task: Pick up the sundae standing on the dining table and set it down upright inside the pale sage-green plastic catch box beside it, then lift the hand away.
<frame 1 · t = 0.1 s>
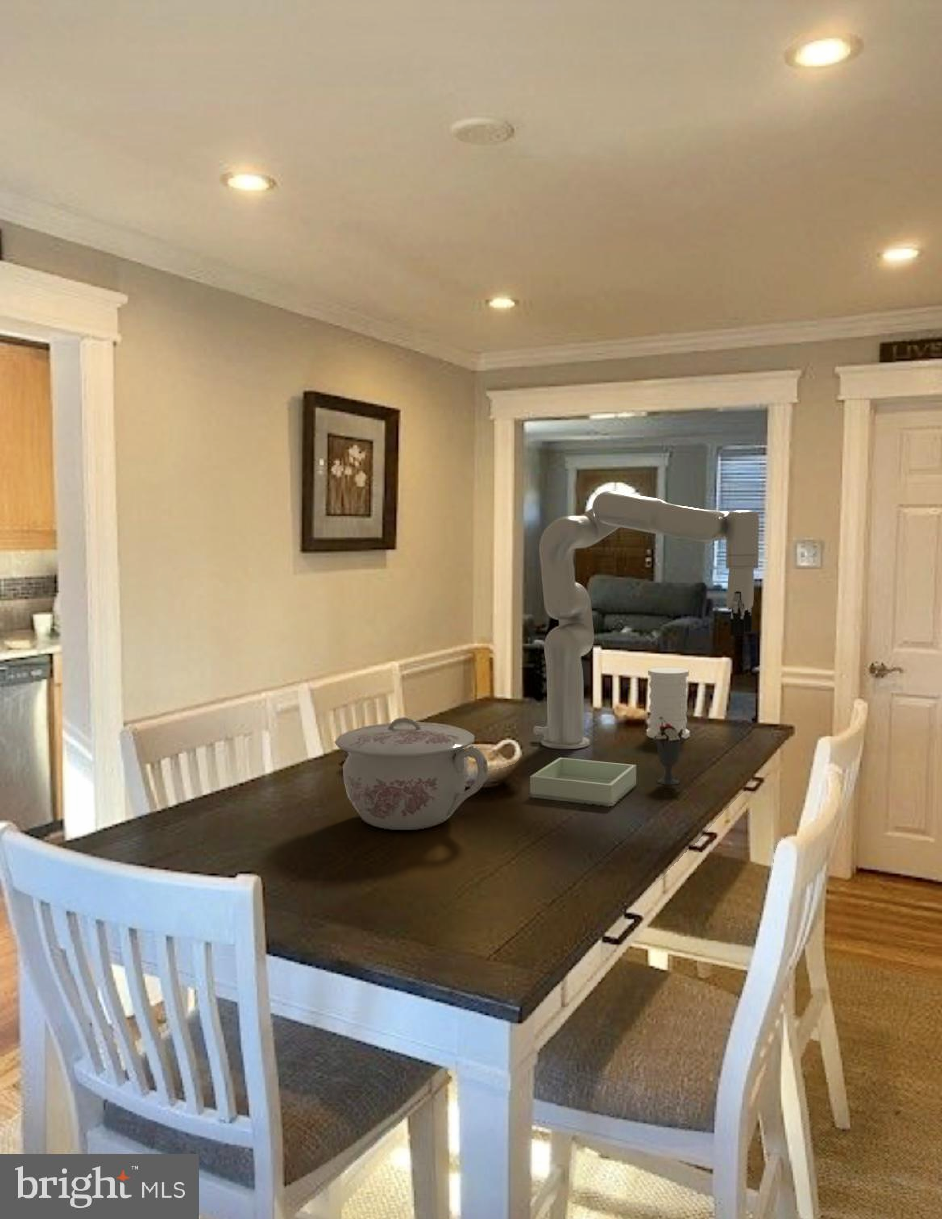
hand: (741, 633, 231), 31 cm above the table, tool pointing down, fingers open, 9 cm apart
casserole: (393, 764, 236), on the table
decorative container: (667, 736, 263), on the table
sundae: (668, 783, 216), on the table
catch box: (584, 791, 210), on the table
chamber pot: (407, 822, 190), on the table
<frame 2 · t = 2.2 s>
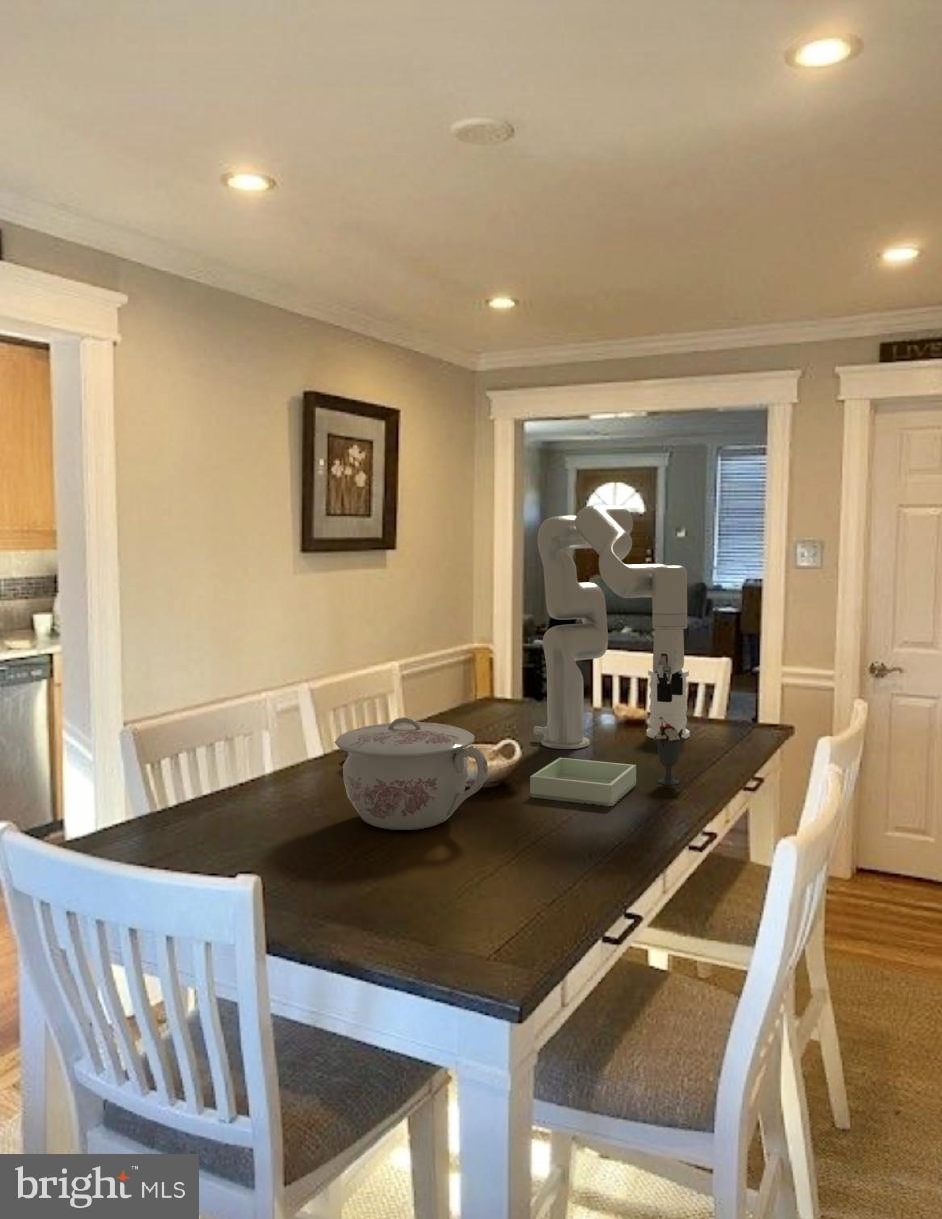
hand: (670, 698, 214), 19 cm above the table, tool pointing down, fingers open, 9 cm apart
nothing on the table moved.
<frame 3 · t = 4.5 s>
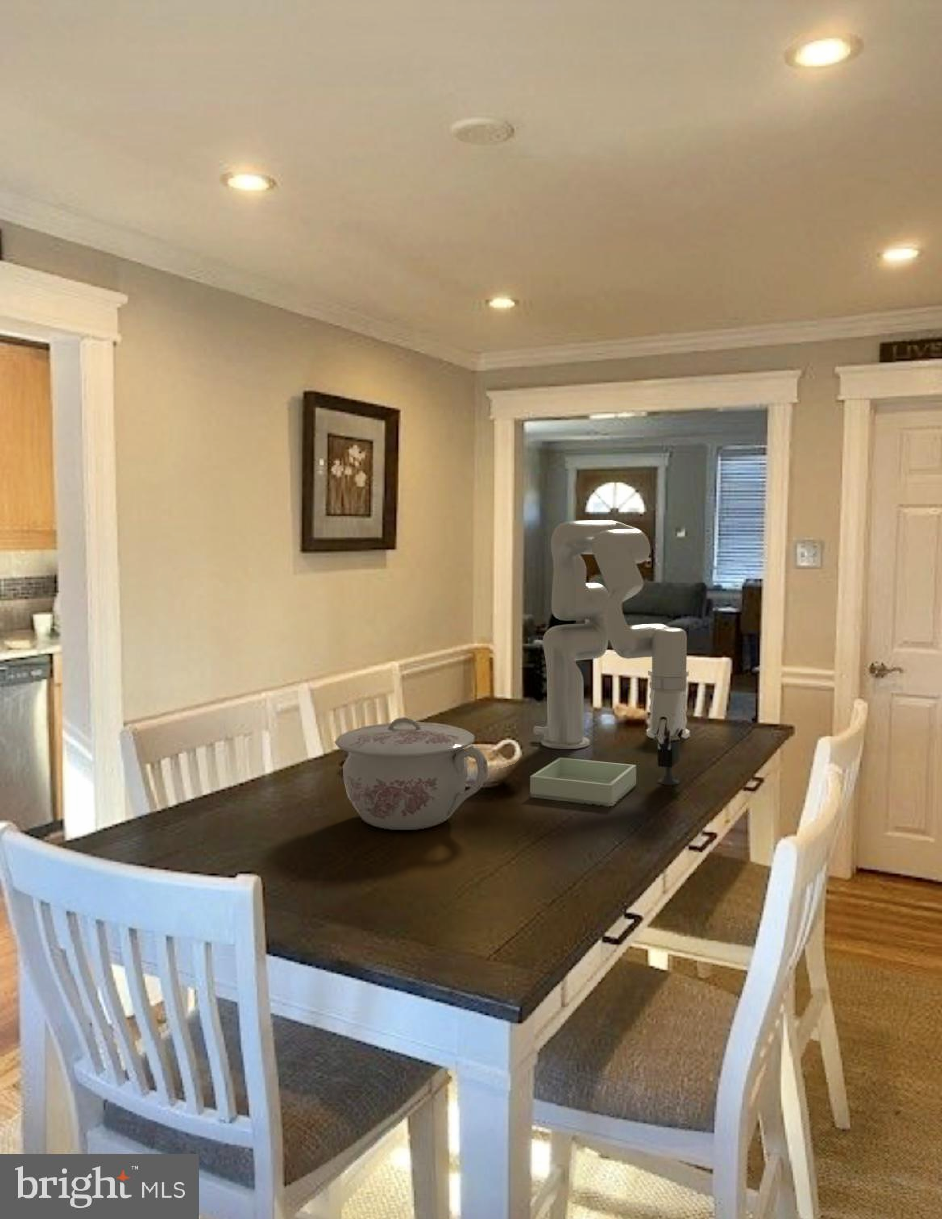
hand: (668, 763, 215), 4 cm above the table, tool pointing down, fingers closed on sundae, 5 cm apart
sundae: (668, 783, 216), on the table, touching gripper
everything else where it was.
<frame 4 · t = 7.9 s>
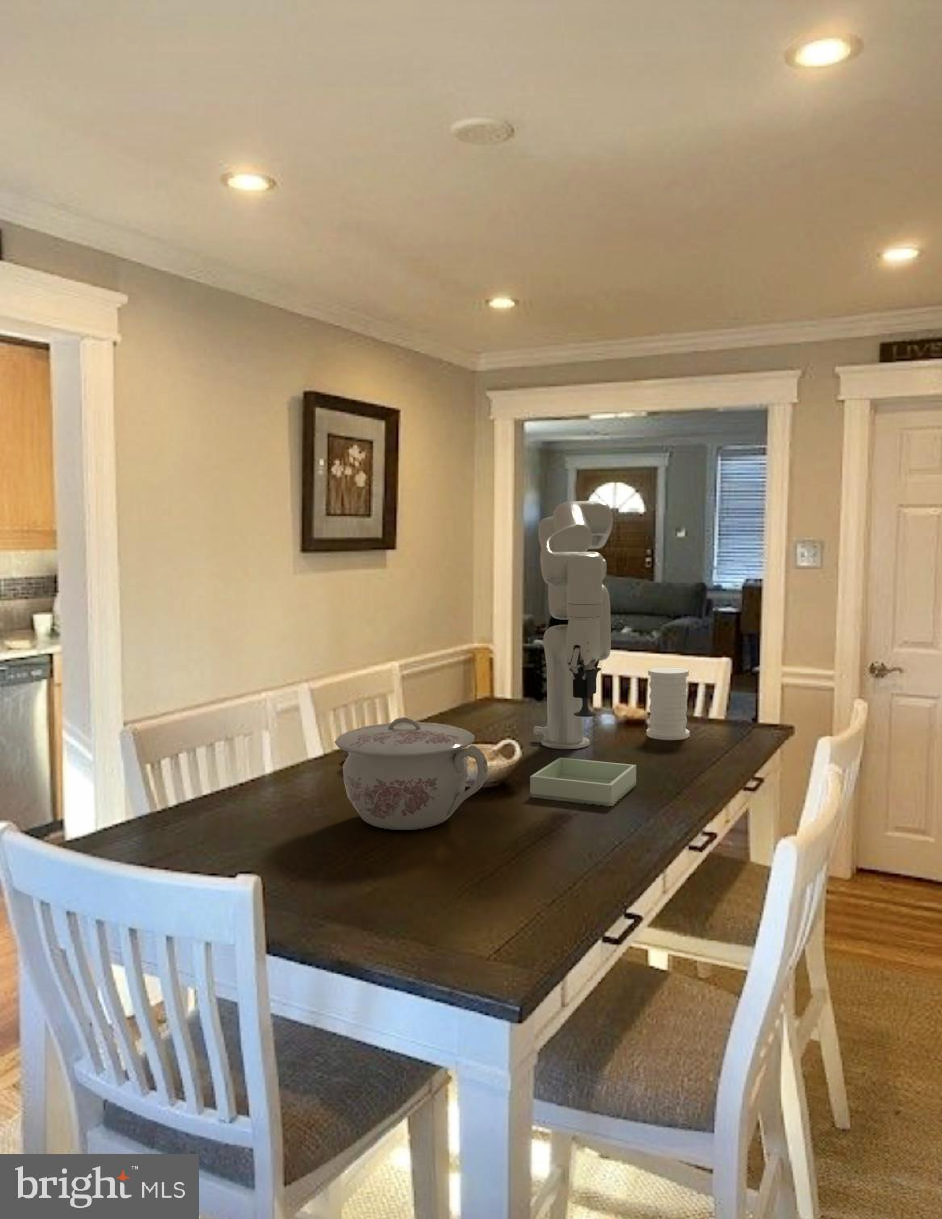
hand: (584, 694, 208), 21 cm above the table, tool pointing down, fingers closed on sundae, 4 cm apart
sundae: (584, 715, 208), point 17 cm above the table, touching gripper
everything else where it was.
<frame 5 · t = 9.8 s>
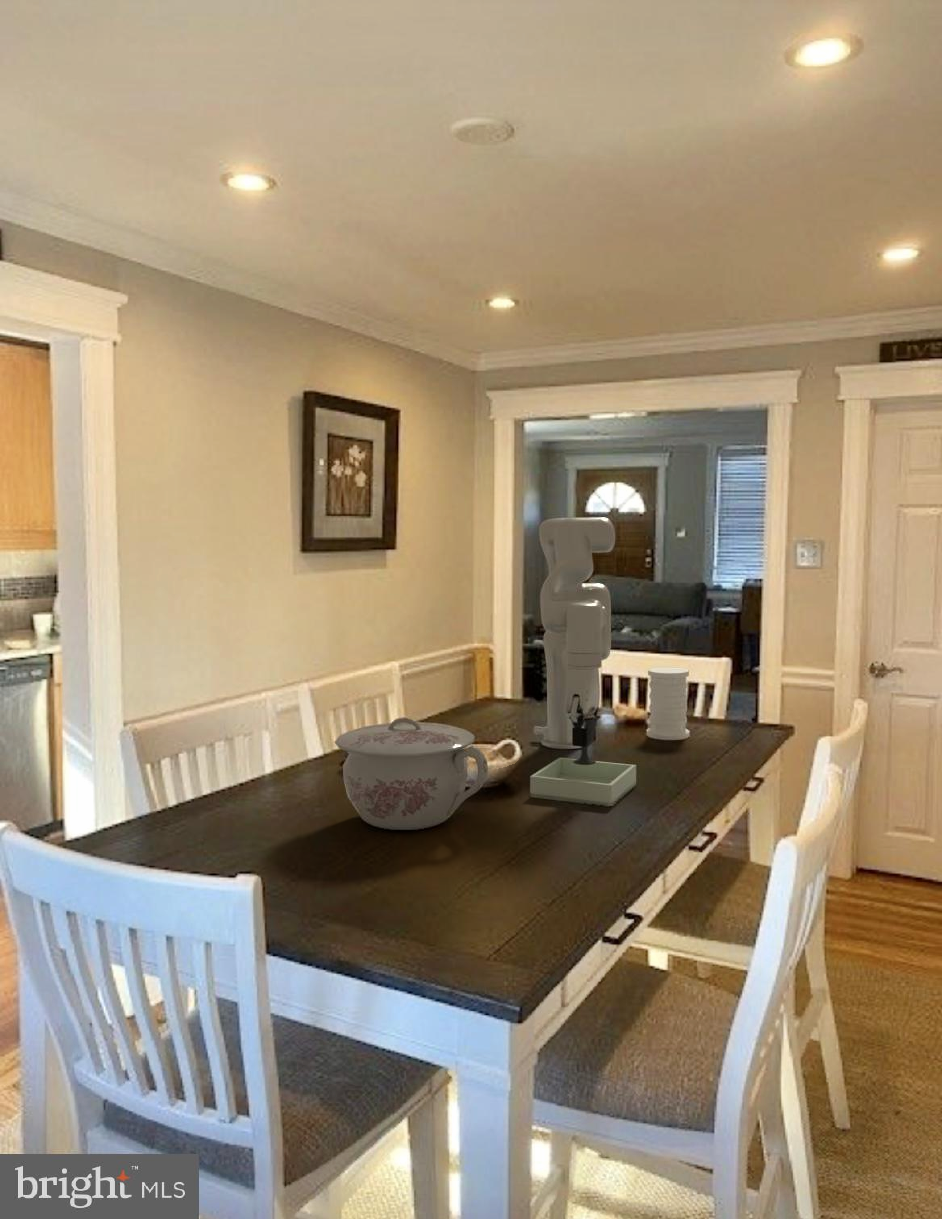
hand: (584, 742, 209), 11 cm above the table, tool pointing down, fingers closed on sundae, 4 cm apart
sundae: (584, 763, 209), point 6 cm above the table, touching gripper
everything else where it was.
when the fingers open (7 cm above the table, at t = 11.3 s): sundae drops 2 cm, resting on catch box.
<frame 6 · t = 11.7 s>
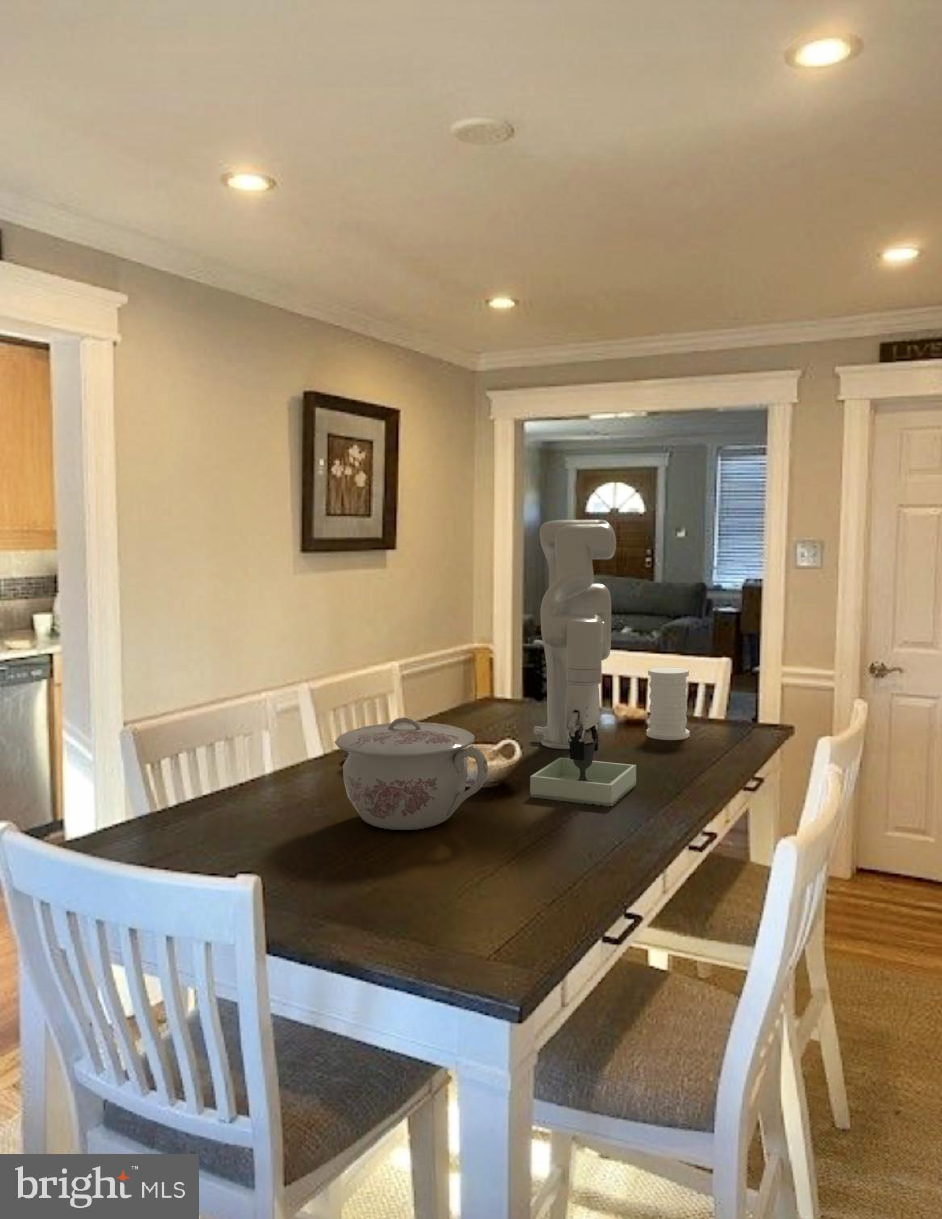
hand: (584, 754, 209), 8 cm above the table, tool pointing down, fingers open, 8 cm apart
sundae: (582, 785, 211), point 1 cm above the table, touching catch box
everything else where it was.
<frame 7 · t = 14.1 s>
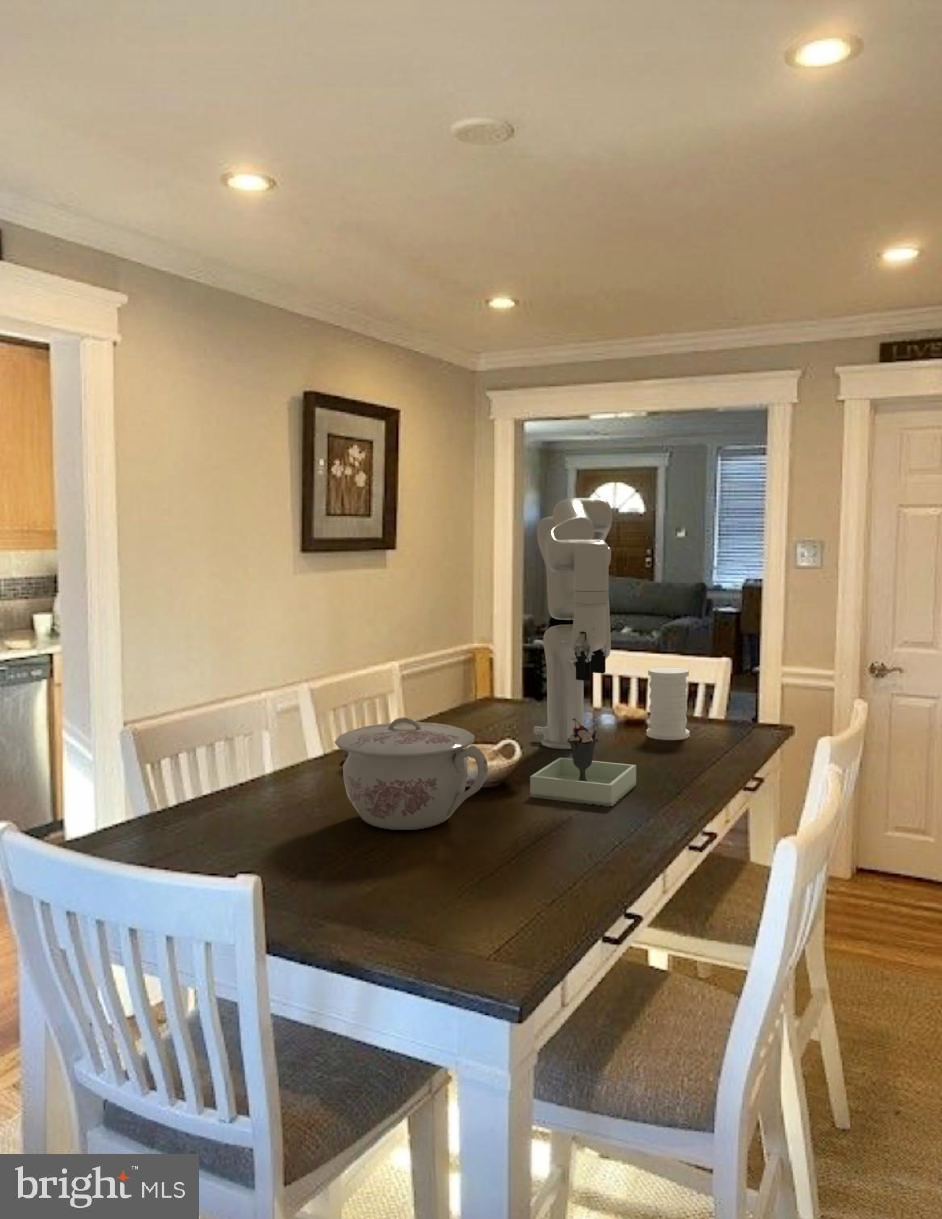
hand: (590, 676, 211), 25 cm above the table, tool pointing down, fingers open, 9 cm apart
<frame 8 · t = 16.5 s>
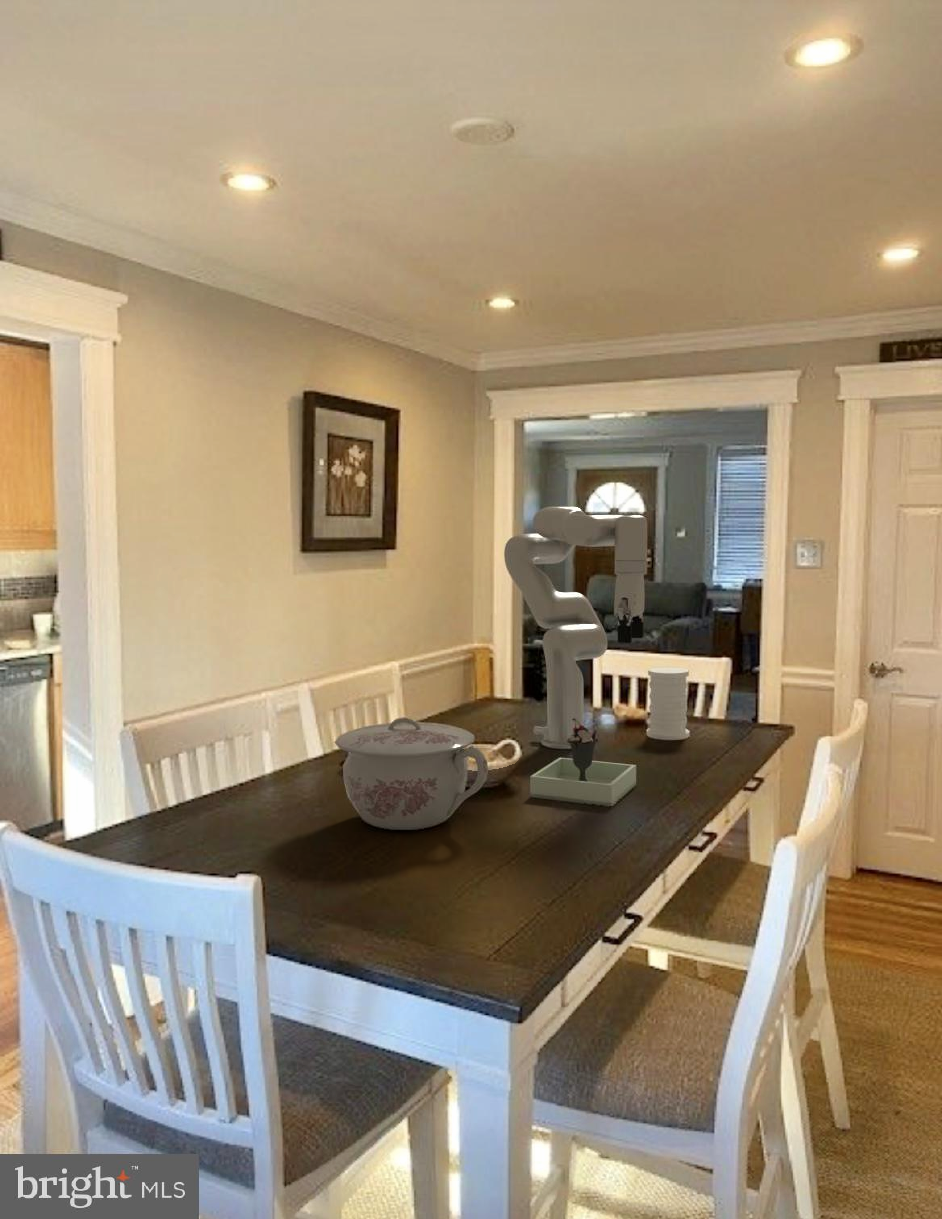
hand: (630, 640, 228), 30 cm above the table, tool pointing down, fingers open, 9 cm apart
nothing on the table moved.
at the end: sundae inside the target area on the catch box (1.9 cm from its centre), point 0.6 cm above the catch box's base; sundae tilted 0°; the gripper is holding nothing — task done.
